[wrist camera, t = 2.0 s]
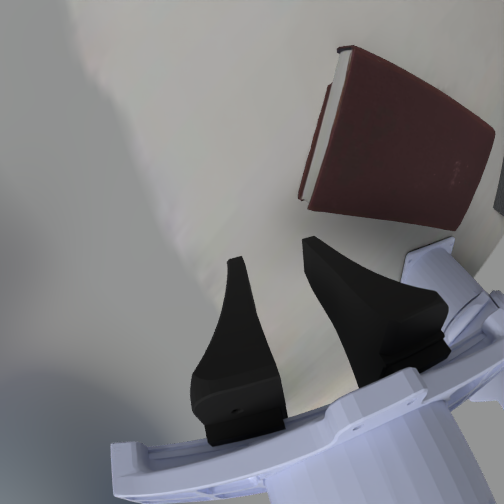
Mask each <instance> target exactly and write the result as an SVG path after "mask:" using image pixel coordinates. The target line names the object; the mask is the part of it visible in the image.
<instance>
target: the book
mask: <svg viewBox="0 0 504 504" xmlns="http://www.w3.org/2000/svg"><path fill="white" fill-rule="evenodd" d="M337 53H339V54H340V56H339V60H338V64H337V67H336V71H335V75H334V79H333V82H332V83H331V84H330V85H328V87H327V91H326V95H325V99H324V102H323V106H322V110H321V113H320V115H319V119H318V123H317V127H316V130H315V133H314V136H313V141H312V145H311V150H310V152H309V155H308V158H307V162H306V166H305V170H304V173H303V177H302V181H301V185H300V188H299V192H298V199H299V200H301V201H303V200H306V201H307V202H308V203H309V205H308V208H307V209H308V210H312V211H318V212H328V213H335V214H343V215H350V216H358V217H365V218H373V219H381V220H390V221H397V222H403V223H410V224H416V225H422V226H428V227H434V228H440V229H444V230H450V231H456V229H457V228H458V227H459V225H460V224H461V222H462V220H463V218H464V216H465V214H466V212H467V210H468V208H469V206H470V203H471V201H472V198H473V196H474V194H475V191H476V189H477V187H478V185H479V182H480V180H481V177H482V174H483V172H484V169H485V166H486V164H487V161H488V158H489V155H490V152H491V149H492V145H493V142H494V138H495V131H494V129H493V128H492V127H491V126H490V125H489V124H487V123H486V122H485V121H483V120H482V119H481V118H479V117H478V116H477V115H475V114H474V113H472V112H471V111H469V110H468V109H467V108H465V107H464V106H462V105H461V104H459V103H458V102H457V101H455V100H454V99H452V98H451V97H449V96H448V95H446V94H445V93H443V92H441V91H440V90H438V89H437V88H435V87H433V86H432V85H430V84H428V83H427V82H425V81H423V80H422V79H420V78H418V77H416V76H415V75H413V74H411V73H409V72H408V71H406V70H404V69H402V68H400V67H398V66H397V65H395V64H393V63H391V62H389V61H387V60H385V59H383V58H381V57H379V56H377V55H375V54H372V53H370V52H368V51H366V50H364V49H362V48H359V47H357V46H354V45H351V46H343V47H339V48H337Z"/></svg>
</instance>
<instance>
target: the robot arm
mask: <svg viewBox="0 0 504 504" xmlns="http://www.w3.org/2000/svg"><path fill="white" fill-rule="evenodd" d="M454 241H455V238H453V237H450V238H447V239H444V240H442V241H439V242H437V243H434V244H431V245H428V246H426V247H423V248H420V249H418V250H415V251H412V252H409V253H408V254H407V255H406V258H405V263H404V268H403V273H402V277H401V282H397V281H395V280H392V279H389V278H386V277H384V276H382V275H379V274H377V273H375V272H373V271H370V270H368V269H366V268H364V267H362V266H361V265H359V264H357V263H355V262H353V261H352V260H350V259H348V258H347V257H345V256H344V255H342V254H340V253H339V252H337V251H336V250H334V249H333V248H331V247H330V246H328V245H327V244H326V243H324V242H323V241H321V240H320V239H318V238H317V237H315V236H311V237H308V238H304V239H302V246H303V259H304V272H305V274H306V277H307V279H308V281H309V283H310V286H311V288H312V290H313V292H314V293H315V295H316V297H317V298H318V300H319V302H320V303H321V305H322V307H323V308H324V310H325V312H326V313H327V315H328V317H329V318H330V320H331V322H332V323H333V325H334V327H335V329H336V331H337V333H338V336H339V338H340V340H341V343H342V345H343V347H344V350H345V352H346V355H347V357H348V359H349V362H350V365H351V367H352V370H353V373H354V375H355V378H356V381H357V384H358V387H359V389H357V390H355V391H352V392H350V393H348V394H346V395H344V396H342V397H340V398H338V399H337V400H335V401H334V402H333V403H331V404H328V405H325V406H323V407H320V408H317V409H314V410H311V411H308V412H305V413H302V414H299V415H296V416H293V417H289V418H288V415H287V410H286V403H285V398H284V393H283V388H282V383H281V378H280V375H279V372H278V369H277V366H276V363H275V361H274V358H273V356H272V353H271V351H270V348H269V346H268V343H267V340H266V338H265V335H264V332H263V330H262V327H261V324H260V321H259V319H258V316H257V312H256V308H255V303H254V299H253V295H252V291H251V287H250V282H249V278H248V274H247V270H246V266H245V263H244V260H243V258H242V256H239V257H236V258H232V259H229V260H228V261H227V267H228V275H227V285H226V292H225V297H224V302H223V307H222V311H221V314H220V318H219V321H218V324H217V327H216V329H215V332H214V335H213V337H212V339H211V342H210V344H209V346H208V348H207V350H206V352H205V354H204V356H203V357H202V359H201V361H200V362H199V364H198V366H197V367H196V369H195V371H194V372H193V374H192V379H191V388H190V398H191V406H192V411H193V413H194V415H195V416H196V417H197V418H198V419H199V420H200V421H201V422H202V423H203V424H204V425H205V431H206V437H207V438H204V439H199V440H193V441H187V442H181V443H174V444H167V445H160V446H150V447H147V446H146V445H144V444H143V443H141V442H136V441H129V442H116V443H111V463H112V480H113V493H114V496H115V497H119V498H122V499H125V500H130V501H133V502H137V503H142V504H162V503H184V502H198V501H210V500H219V499H227V498H234V497H241V496H247V495H254V494H259V493H264V492H267V493H268V496H269V499H270V503H271V504H496V502H495V499H494V497H493V495H492V493H491V490H490V488H489V486H488V484H487V481H486V479H485V477H484V475H483V473H482V471H481V469H480V467H479V465H478V463H477V461H476V459H475V457H474V455H473V453H472V451H471V449H470V447H469V445H468V443H467V441H466V439H465V438H464V436H463V434H462V432H461V430H460V428H459V426H458V425H457V423H456V421H455V419H454V417H453V416H452V414H451V411H452V410H454V409H455V408H457V407H458V406H459V405H461V404H462V403H463V402H465V401H466V400H467V399H469V400H470V401H472V402H483V401H495V400H496V401H498V402H499V403H500V405H501V407H502V408H503V410H504V294H503V293H502V292H501V291H499V290H498V291H494V290H493V291H492V292H491V293H490V294H488V293H487V292H486V291H485V290H484V289H483V288H482V287H481V286H480V285H479V284H478V283H477V282H476V280H475V279H474V278H473V277H472V276H471V275H470V274H469V273H468V272H467V271H466V270H465V269H464V268H463V267H462V266H461V265H460V264H459V263H458V262H457V261H456V260H455V259H454V258H453V257H452V256H451V252H452V249H453V245H454Z"/></svg>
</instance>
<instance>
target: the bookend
mask: <svg viewBox="0 0 504 504" xmlns="http://www.w3.org/2000/svg"><path fill="white" fill-rule="evenodd" d="M493 208H494V209H495V210H497V211H498V212H499V213H500V214H502V215H503V216H504V159H503V165H502V170H501V176H500V181H499V185H498V190H497V194H496V198H495V202H494V206H493Z"/></svg>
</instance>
